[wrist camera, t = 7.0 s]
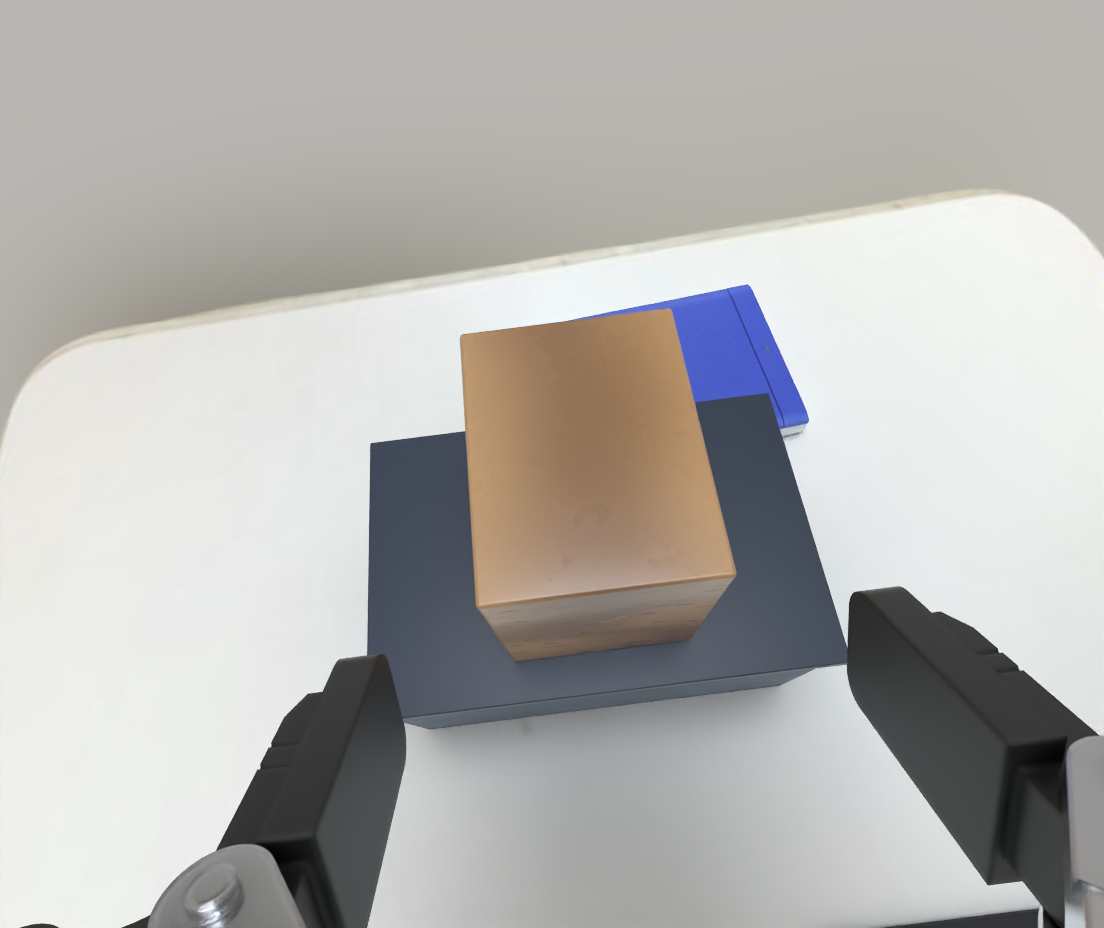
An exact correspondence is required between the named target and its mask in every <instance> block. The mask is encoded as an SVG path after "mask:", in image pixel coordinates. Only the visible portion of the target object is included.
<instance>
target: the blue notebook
mask: <svg viewBox="0 0 1104 928" xmlns="http://www.w3.org/2000/svg"><path fill="white" fill-rule="evenodd" d="M666 308H670V309H671V310H672V312H673V316H674V320H675V324H676V328H677V332H678V337H679V341H680V345H681V349H682V353H683V357H684V361H685V365H686V369H687V373H688V377H689V381H690V385H691V390H692V394H693V398H694V402H700V401H708V400H716V399H724V398H732V397H740V396H748V395H755V394H763V393H769V395H770V399H771V402H772V405H773V408H774V412H775V415H776V418H777V421H778V425H779V428H780V431H781V434H782V436H785V435H790V434H794V433H798V432H802V431H803V430H804V428H805V426H806V425H807V423H808V421H809V419H808V415H807V411H806V409H805V406H804V404H803V402H802V399H801V397H800V395H799V393H798V390H797V388H796V386H795V384H794V382H793V379H792V377H791V375H790V373H789V370H788V368H787V366H786V364H785V362H784V359H783V357H782V355H781V353H780V351H779V348H778V346H777V344H776V342H775V340H774V337H773V335H772V333H771V331H770V328H769V326H768V324H767V322H766V320H765V318H764V315H763V313H762V311H761V308H760V306H759V304H758V302H757V300H756V297H755V295H754V293H753V291H752V289H751V287H750V286H749V285H743V286H737V287H732V288H727V289H724V290H718V291H714V292H709V293H704V294H699V295H694V296H689V297H684V298H679V299H675V300H669V301H664V302H660V303H655V304H649V305H643V306H639V307H634V308H629V309H624V310H619V311H613V312H608V313H604V314H599V315H594V316H589V317H584V318H579V319H574V320H580V319H588V318H596V317H603V316H611V315H619V314H627V313H635V312H643V311H650V310H658V309H666ZM570 321H572V320H570Z"/></svg>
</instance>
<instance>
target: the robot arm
mask: <svg viewBox="0 0 1104 928" xmlns="http://www.w3.org/2000/svg"><path fill="white" fill-rule="evenodd" d="M847 674H848V680H849V684H850V688H851V691H852V694H853V696H854V698H855V700H856V702H857V704H858V706H859V707H860V709H861V710H862V712H863V713H864V714H865V716H866V717H867V718H868V720H869V721H870V723H871V724H872V725H873V727H874V728H875V730H876V731H877V732H878V734H879V735H880V736H881V738H882V739H883V741H884V742H885V743H886V745H887V746H888V748H889V749H890V750H891V752H892V753H893V754H894V756H895V757H896V759H897V760H898V761H899V763H900V764H901V766H902V767H903V768H904V770H905V771H906V772H907V774H908V775H909V777H910V778H911V779H912V781H913V782H914V784H915V785H916V786H917V788H918V789H919V790H920V792H921V793H922V795H923V796H924V797H925V799H926V800H927V802H928V803H929V804H930V806H931V807H932V809H933V810H934V811H935V813H936V814H937V815H938V817H939V818H940V820H941V821H942V822H943V824H944V825H945V827H946V828H947V829H948V831H949V832H950V833H951V835H952V836H953V838H954V839H955V840H956V842H957V843H958V845H959V846H960V847H961V849H962V850H963V851H964V853H965V854H966V856H967V857H968V858H969V860H970V861H971V863H972V864H973V865H974V867H975V868H976V869H977V871H978V872H979V874H980V875H981V876H982V878H983V879H984V881H985V882H986V883H987V885H995V884H1003V883H1011V882H1019V881H1023V882H1024V883H1025V885H1026V886H1027V887H1028V889H1029V890H1030V891H1031V892H1032V894H1033V895H1034V896H1035V897H1036V899H1037V900H1038V901H1039V903H1040V907H1039V914H1038V928H1104V736H1100V735H1098V734H1097V733H1096V732H1095V731H1094V730H1092V729H1091V728H1090V727H1089V726H1088V725H1087V724H1085V723H1084V722H1083V721H1082V720H1081V719H1080V718H1078V717H1077V716H1076V715H1075V714H1074V713H1073V712H1071V711H1070V710H1069V709H1068V708H1067V707H1065V706H1064V705H1063V704H1062V703H1061V702H1060V701H1058V700H1057V699H1056V698H1055V697H1054V696H1053V695H1051V694H1050V693H1049V692H1048V691H1047V690H1046V689H1044V688H1043V687H1042V686H1041V685H1040V684H1039V683H1037V682H1036V681H1035V680H1034V679H1033V678H1032V677H1030V676H1029V675H1028V674H1027V673H1026V672H1025V671H1020V670H1019V669H1018V665H1016V664H1015V663H1014V662H1013V661H1012V660H1011V659H1009V658H1008V657H1007V656H1006V655H1005V654H1004V653H999V652H998V648H996V647H995V646H994V645H993V644H992V643H991V642H989V641H988V640H987V639H986V638H985V637H984V636H982V635H981V634H980V633H979V632H978V631H977V630H975V629H974V628H973V627H971V626H969V625H967V624H965V623H963V622H961V621H958V620H956V619H954V618H952V617H950V616H948V615H946V614H944V613H942V612H934V613H931V612H930V611H929V610H928V609H927V608H926V607H925V606H924V605H923V604H921V603H920V602H919V601H918V600H917V599H916V598H915V597H914V596H913V595H912V594H910V593H909V592H908V591H907V590H906V589H904V588H903V587H899V586H898V587H890V588H882V589H874V590H866V591H859V592H854V593H853V594H852V595H851V598H850V602H849V622H848V652H847ZM271 744H272V746H271V748H268V750H267V752H266V754H265V756H264V758H263V760H262V762H261V764H260V765H261V768H260V770H257V772H256V774H255V776H254V778H253V780H252V781H251V783H250V785H249V787H248V789H247V791H246V793H245V795H244V797H243V799H242V801H241V803H240V805H239V807H238V809H237V811H236V813H235V815H234V817H233V819H232V821H231V823H230V824H229V826H228V828H227V830H226V832H225V834H224V836H223V838H222V840H221V842H220V844H219V846H218V848H217V850H216V851H215V852H213V853H211V854H209V855H207V856H205V857H203V858H201V859H200V860H198V861H197V862H195V863H194V864H192V865H191V866H190V867H188V868H187V869H186V870H185V871H183V872H182V873H181V874H180V875H179V876H178V877H177V878H176V879H175V880H174V881H173V882H172V883H171V884H170V885H169V886H168V887H167V889H166V890H165V891H164V892H163V894H162V895H161V897H160V898H159V900H158V901H157V903H156V905H155V907H154V908H153V910H152V913H151V915H149V916H147V917H145V918H143V919H141V920H139V921H137V922H135V923H132V924H130V925H127V926H125V927H122V928H367V926H368V921H369V917H370V913H371V908H372V904H373V900H374V895H375V891H376V887H377V883H378V878H379V874H380V870H381V865H382V861H383V857H384V853H385V848H386V844H387V840H388V835H389V831H390V827H391V822H392V818H393V814H394V810H395V805H396V801H397V797H398V792H399V788H400V784H401V780H402V775H403V771H404V766H405V760H406V734H405V727H404V722H403V718H402V714H401V710H400V706H399V702H398V698H397V694H396V690H395V686H394V682H393V678H392V673H391V669H390V665H389V662H388V659H387V657H386V656H385V655H384V654H376V655H368V656H360V657H352V658H345V659H339V660H338V661H337V662H336V664H335V666H334V668H333V670H332V672H331V675H330V677H329V679H328V681H327V683H326V686H325V688H324V690H323V692H318V693H311V694H307V695H306V696H305V697H304V698H303V699H302V700H301V701H300V702H299V703H298V704H297V705H296V706H295V707H294V708H293V709H292V710H291V711H290V712H289V713H288V714H287V715H286V716H285V717H284V719H283V721H282V723H281V725H280V727H279V729H278V731H277V733H276V735H275V737H274V738H273V740H272V742H271ZM21 928H58V927H57V926H54V925H51V924H33V925H28V926H24V927H21Z"/></svg>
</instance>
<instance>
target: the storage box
mask: <svg viewBox="0 0 1104 928" xmlns="http://www.w3.org/2000/svg"><path fill="white" fill-rule="evenodd" d="M695 406H696V410H697V414H698V418H699V422H700V426H701V430H702V434H703V438H704V442H705V447H706V451H707V455H708V459H709V463H710V467H711V471H712V475H713V479H714V483H715V487H716V491H717V495H718V500H719V504H720V508H721V512H722V516H723V520H724V524H725V528H726V532H727V536H728V540H729V544H730V548H731V552H732V557H733V561H734V565H735V569H736V577H735V578H734V579H733V581H732V582H731V584H730V585H729V586H728V588H727V589H726V591H725V592H724V593H723V595H722V596H721V597H720V599H719V600H718V602H717V603H716V604H715V606H714V607H713V609H712V610H711V611H710V613H709V614H708V616H707V617H706V618H705V620H704V621H703V622H702V624H701V625H700V627H699V628H698V629H697V631H696V632H695V634H694V635H693V636H692V638H691V639H689V640H684V641H676V642H668V643H660V644H652V645H644V646H636V647H628V648H620V649H612V650H604V651H596V652H588V653H580V654H573V655H565V656H557V657H549V658H541V659H533V660H525V661H514V659H513V658H512V657H511V655H510V654H509V652H508V651H507V650H506V648H505V647H504V645H503V644H502V643H501V641H500V640H499V638H498V637H497V636H496V634H495V633H494V631H493V630H492V628H491V627H490V626H489V624H488V623H487V621H486V620H485V619H484V617H483V616H482V614H481V613H480V612H479V610H478V609H477V607H476V600H475V583H474V566H473V549H472V533H471V516H470V499H469V482H468V466H467V449H466V432H465V431H464V432H456V433H448V434H441V435H433V436H425V437H417V438H409V439H401V440H393V441H385V442H378V443H371V445H370V509H369V577H368V644H367V656H368V655H376V654H384V655H385V656H386V657H387V659H388V662H389V665H390V669H391V673H392V678H393V682H394V686H395V690H396V694H397V698H398V702H399V706H400V710H401V714H402V718H403V722H404V723H408V724H412V725H415V726H419V727H423V728H427V729H435V728H443V727H451V726H459V725H467V724H475V723H483V722H491V721H499V720H507V719H515V718H523V717H531V716H539V715H547V714H555V713H563V712H571V711H579V710H587V709H595V708H603V707H611V706H619V705H627V704H635V703H643V702H651V701H659V700H667V699H675V698H683V697H691V696H699V695H707V694H715V693H723V692H731V691H739V690H747V689H755V688H763V687H771V686H779V685H782V684H784V683H786V682H788V681H790V680H792V679H794V678H796V677H799V676H801V675H803V674H805V673H807V672H809V671H811V670H813V669H816V668H822V667H830V666H838V665H846V664H847V652H848V649H847V646H846V643H845V639H844V636H843V633H842V630H841V626H840V623H839V620H838V617H837V613H836V610H835V607H834V604H833V600H832V597H831V594H830V591H829V587H828V584H827V581H826V578H825V574H824V571H823V568H822V565H821V561H820V558H819V555H818V551H817V548H816V545H815V542H814V538H813V535H812V532H811V529H810V525H809V522H808V519H807V516H806V512H805V509H804V506H803V503H802V499H801V496H800V493H799V490H798V486H797V483H796V480H795V477H794V473H793V470H792V467H791V464H790V460H789V457H788V454H787V451H786V447H785V444H784V441H783V438H782V434H781V431H780V428H779V425H778V421H777V418H776V415H775V412H774V408H773V405H772V402H771V399H770V395H769V393H763V394H755V395H748V396H740V397H732V398H724V399H716V400H708V401H700V402H695Z"/></svg>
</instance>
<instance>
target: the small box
mask: <svg viewBox="0 0 1104 928" xmlns="http://www.w3.org/2000/svg"><path fill="white" fill-rule="evenodd" d="M460 348H461V365H462V382H463V398H464V415H465V432H466V449H467V466H468V482H469V499H470V516H471V533H472V549H473V566H474V583H475V600H476V607H477V609H478V610H479V612H480V613H481V614H482V616H483V617H484V619H485V620H486V621H487V623H488V624H489V626H490V627H491V628H492V630H493V631H494V633H495V634H496V636H497V637H498V638H499V640H500V641H501V643H502V644H503V645H504V647H505V648H506V650H507V651H508V652H509V654H510V655H511V657H512V658H513V659H514V661H525V660H533V659H541V658H549V657H557V656H565V655H573V654H580V653H588V652H596V651H604V650H612V649H620V648H628V647H636V646H644V645H652V644H660V643H668V642H676V641H684V640H689V639H691V638H692V636H693V635H694V634H695V632H696V631H697V629H698V628H699V627H700V625H701V624H702V622H703V621H704V620H705V618H706V617H707V616H708V614H709V613H710V611H711V610H712V609H713V607H714V606H715V604H716V603H717V602H718V600H719V599H720V597H721V596H722V595H723V593H724V592H725V591H726V589H727V588H728V586H729V585H730V584H731V582H732V581H733V579H734V578H735V577H736V569H735V565H734V561H733V557H732V552H731V548H730V544H729V540H728V536H727V532H726V528H725V524H724V520H723V516H722V512H721V508H720V504H719V500H718V495H717V491H716V487H715V483H714V479H713V475H712V471H711V467H710V463H709V459H708V455H707V451H706V447H705V442H704V438H703V434H702V430H701V426H700V422H699V418H698V414H697V410H696V406H695V402H694V398H693V394H692V390H691V385H690V381H689V377H688V373H687V369H686V365H685V361H684V357H683V353H682V349H681V345H680V341H679V337H678V332H677V328H676V324H675V320H674V316H673V312H672V310H671V309H670V308H666V309H658V310H650V311H643V312H635V313H627V314H619V315H611V316H603V317H596V318H588V319H580V320H572V321H564V322H557V323H549V324H541V325H533V326H525V327H517V328H510V329H502V330H494V331H486V332H478V333H470V334H463V335H461V337H460Z"/></svg>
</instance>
